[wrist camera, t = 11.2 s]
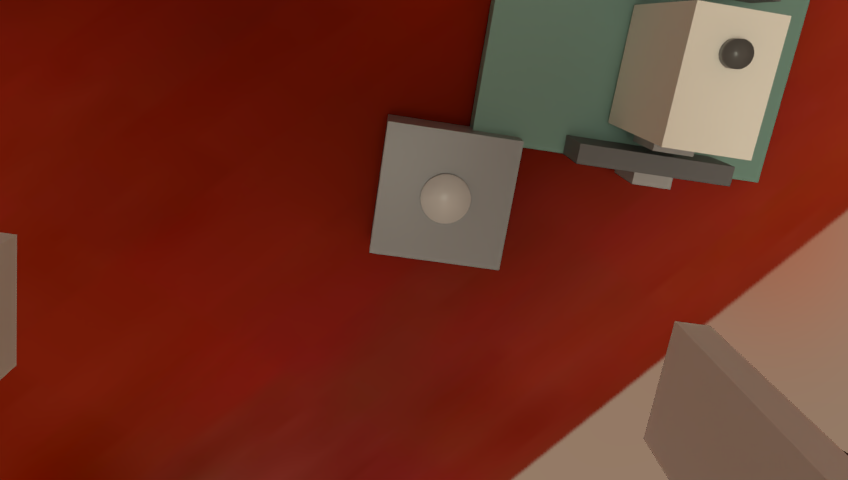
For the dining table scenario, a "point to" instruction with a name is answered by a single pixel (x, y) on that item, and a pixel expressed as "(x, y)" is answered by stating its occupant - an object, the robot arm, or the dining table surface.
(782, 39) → the plug
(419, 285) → the dining table surface
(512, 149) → the button
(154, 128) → the dining table surface
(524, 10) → the board
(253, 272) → the dining table surface
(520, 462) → the dining table surface
